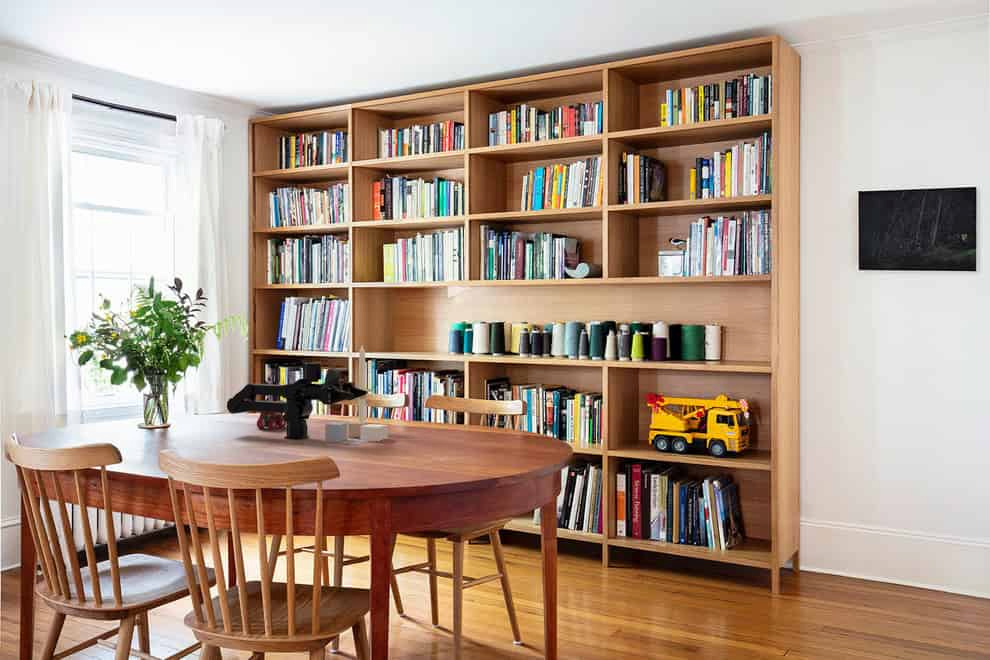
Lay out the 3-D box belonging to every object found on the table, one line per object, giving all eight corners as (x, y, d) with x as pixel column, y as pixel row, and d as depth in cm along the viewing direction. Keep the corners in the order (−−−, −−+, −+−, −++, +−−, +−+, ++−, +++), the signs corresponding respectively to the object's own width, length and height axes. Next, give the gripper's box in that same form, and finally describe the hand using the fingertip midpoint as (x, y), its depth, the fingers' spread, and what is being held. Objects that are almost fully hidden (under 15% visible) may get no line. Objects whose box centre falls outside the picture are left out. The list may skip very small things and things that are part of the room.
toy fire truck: (252, 429, 329) (252, 402, 329) (275, 425, 340) (275, 398, 340) (267, 431, 326) (267, 403, 325) (289, 426, 337) (289, 399, 337)
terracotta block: (348, 437, 311) (348, 423, 311) (351, 435, 316) (351, 421, 316) (362, 437, 311) (362, 423, 311) (365, 435, 316) (365, 421, 316)
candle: (363, 433, 321) (363, 344, 320) (342, 431, 326) (342, 343, 325) (381, 430, 329) (381, 343, 328) (360, 428, 334) (360, 342, 333)
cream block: (360, 440, 305) (360, 426, 305) (369, 438, 311) (369, 424, 311) (378, 442, 302) (378, 427, 302) (387, 439, 309) (387, 425, 309)
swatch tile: (341, 443, 298) (341, 442, 298) (351, 440, 305) (351, 439, 305) (359, 444, 296) (359, 443, 296) (368, 441, 302) (368, 440, 302)
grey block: (325, 441, 302) (325, 424, 302) (333, 439, 307) (333, 422, 307) (339, 442, 300) (339, 425, 300) (347, 440, 306) (347, 422, 305)
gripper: (306, 371, 297) (346, 372, 291) (334, 367, 314) (373, 368, 309) (306, 403, 297) (346, 406, 292) (334, 398, 314) (373, 400, 309)
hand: (360, 394), depth 300 cm, fingers open, 9 cm apart
